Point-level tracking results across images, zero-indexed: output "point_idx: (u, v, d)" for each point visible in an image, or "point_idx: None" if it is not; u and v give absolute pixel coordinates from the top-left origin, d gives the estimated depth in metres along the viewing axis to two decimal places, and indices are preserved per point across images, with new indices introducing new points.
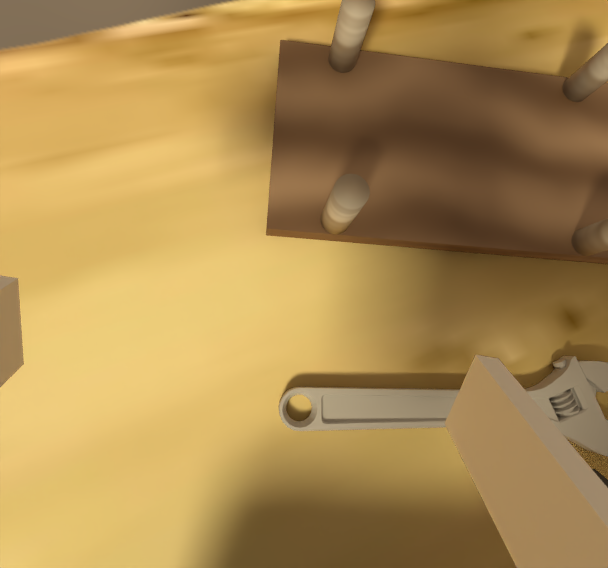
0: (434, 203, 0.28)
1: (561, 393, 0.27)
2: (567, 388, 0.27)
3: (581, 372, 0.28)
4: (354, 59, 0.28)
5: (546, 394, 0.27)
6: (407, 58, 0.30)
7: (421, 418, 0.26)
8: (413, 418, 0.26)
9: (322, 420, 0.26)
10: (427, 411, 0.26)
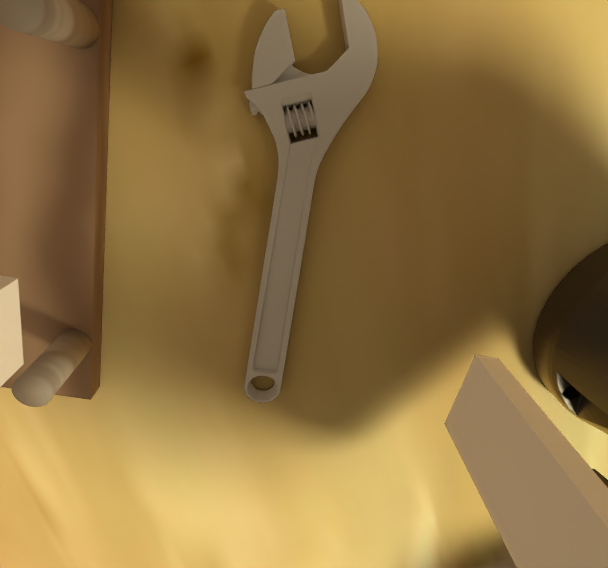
0: (42, 236, 0.23)
1: (287, 125, 0.22)
2: (282, 114, 0.22)
3: (266, 85, 0.21)
4: None
5: (285, 146, 0.22)
6: None
7: (288, 289, 0.26)
8: (286, 297, 0.26)
9: (274, 372, 0.29)
10: (282, 282, 0.26)
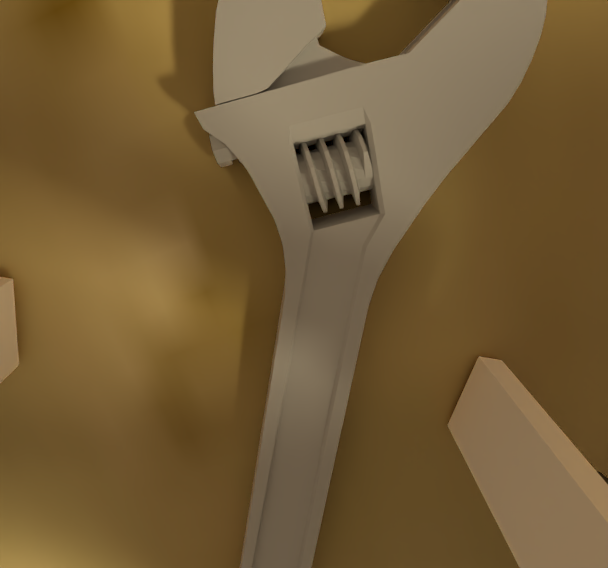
0: None
1: (305, 189, 0.09)
2: (294, 165, 0.09)
3: (252, 96, 0.08)
4: None
5: (301, 238, 0.09)
6: None
7: (308, 496, 0.13)
8: (306, 507, 0.13)
9: None
10: (297, 484, 0.13)
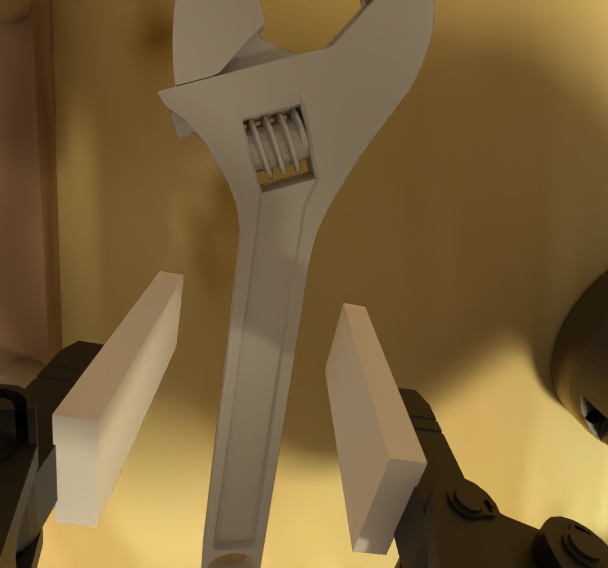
0: None
1: (253, 158, 0.11)
2: (243, 137, 0.11)
3: (206, 78, 0.10)
4: None
5: (251, 199, 0.11)
6: None
7: (266, 431, 0.15)
8: (265, 442, 0.15)
9: (250, 544, 0.18)
10: (256, 421, 0.15)
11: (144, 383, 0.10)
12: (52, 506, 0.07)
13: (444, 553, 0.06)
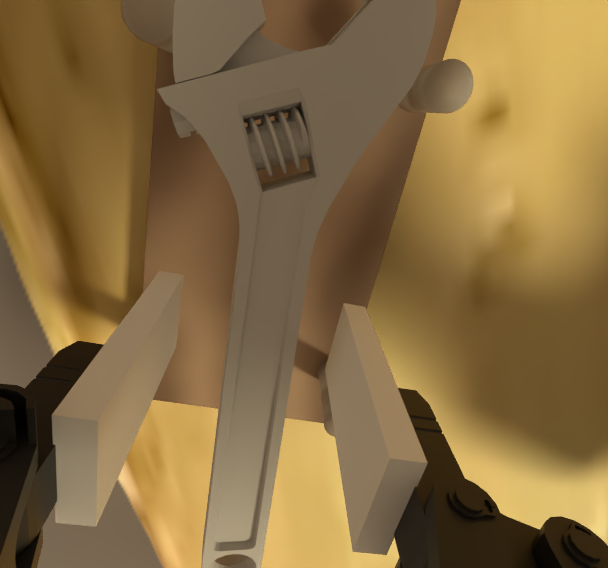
0: (329, 277, 0.25)
1: (254, 156, 0.11)
2: (243, 135, 0.11)
3: (206, 76, 0.10)
4: None
5: (252, 198, 0.11)
6: (146, 275, 0.25)
7: (267, 431, 0.15)
8: (265, 442, 0.15)
9: (250, 545, 0.18)
10: (257, 421, 0.15)
11: (144, 383, 0.10)
12: (52, 506, 0.07)
13: (444, 553, 0.06)
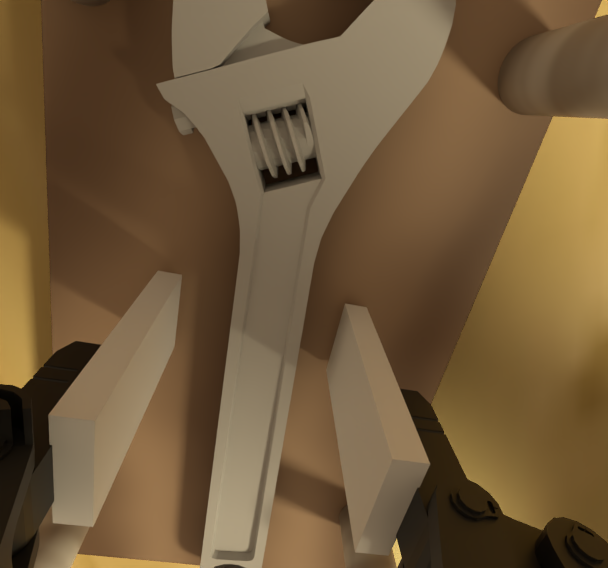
0: None
1: (255, 155, 0.10)
2: (244, 133, 0.10)
3: (207, 71, 0.10)
4: None
5: (252, 199, 0.11)
6: None
7: (267, 442, 0.15)
8: (265, 452, 0.15)
9: (249, 556, 0.17)
10: (257, 430, 0.14)
11: (142, 383, 0.10)
12: (49, 506, 0.07)
13: (447, 554, 0.06)
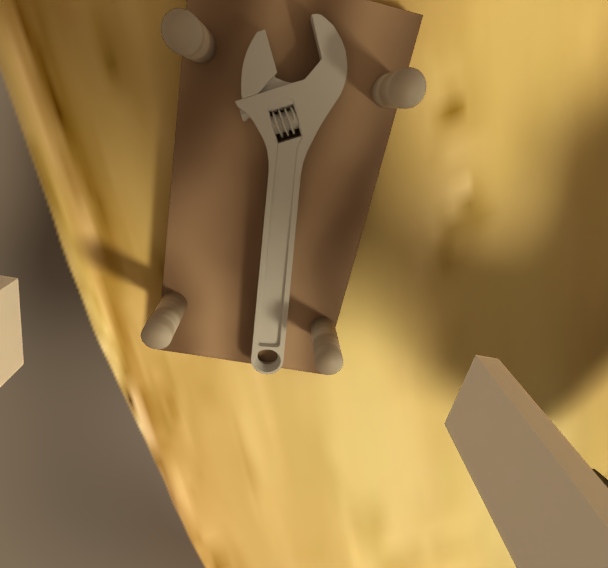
0: (319, 245, 0.31)
1: (273, 127, 0.26)
2: (269, 118, 0.25)
3: (254, 95, 0.25)
4: (181, 303, 0.31)
5: (273, 146, 0.26)
6: (168, 243, 0.30)
7: (284, 271, 0.30)
8: (283, 277, 0.30)
9: (277, 345, 0.32)
10: (278, 264, 0.30)
11: None
12: None
13: None
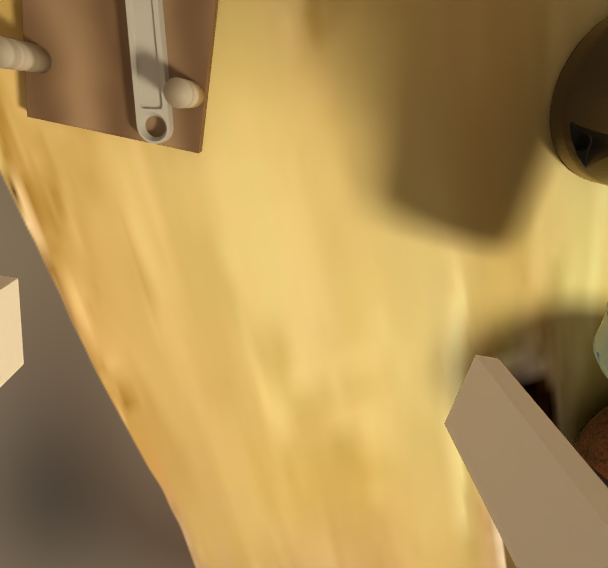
0: None
1: None
2: None
3: None
4: (39, 50, 0.31)
5: None
6: None
7: (151, 13, 0.30)
8: (152, 21, 0.30)
9: (160, 108, 0.33)
10: (145, 5, 0.30)
11: None
12: None
13: None
